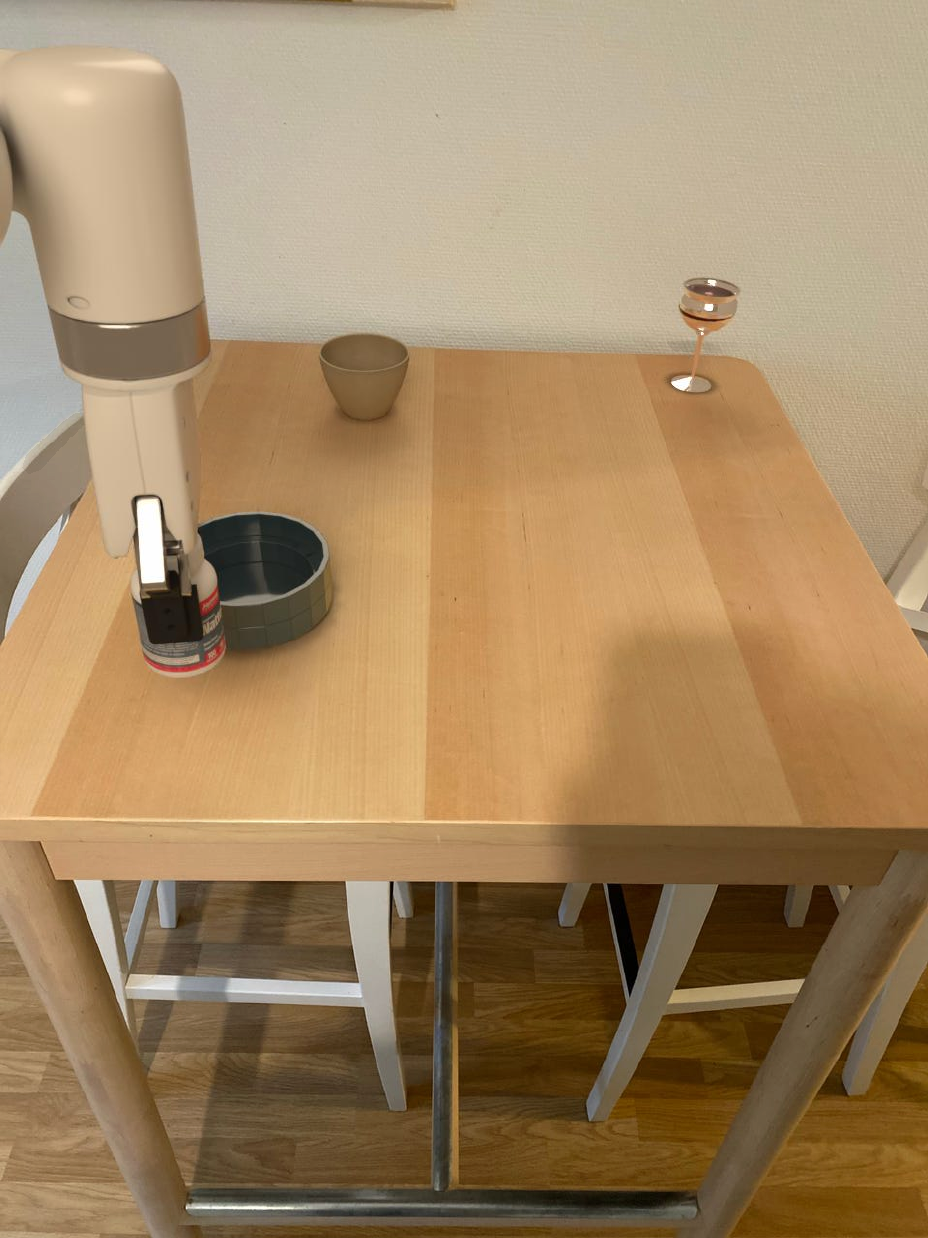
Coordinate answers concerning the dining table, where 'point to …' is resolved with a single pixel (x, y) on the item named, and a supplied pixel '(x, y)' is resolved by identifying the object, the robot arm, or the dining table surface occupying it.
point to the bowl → (267, 576)
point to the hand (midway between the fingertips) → (179, 606)
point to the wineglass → (705, 319)
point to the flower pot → (364, 372)
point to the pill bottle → (211, 649)
